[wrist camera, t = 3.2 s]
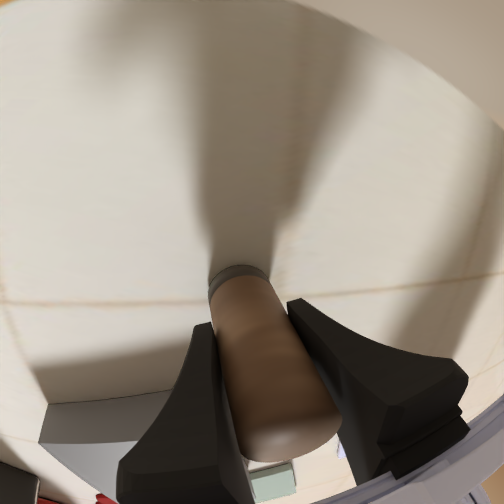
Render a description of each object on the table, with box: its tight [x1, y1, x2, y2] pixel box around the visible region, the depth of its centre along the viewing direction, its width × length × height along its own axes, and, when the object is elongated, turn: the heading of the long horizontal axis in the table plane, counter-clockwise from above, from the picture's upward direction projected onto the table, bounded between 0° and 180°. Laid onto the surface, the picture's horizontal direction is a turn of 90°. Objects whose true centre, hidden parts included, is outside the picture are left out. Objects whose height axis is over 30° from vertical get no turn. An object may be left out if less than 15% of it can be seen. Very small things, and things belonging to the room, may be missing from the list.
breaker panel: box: [38, 390, 256, 504], centre depth 18 cm, size 12×14×4 cm
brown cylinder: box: [208, 265, 342, 462], centre depth 11 cm, size 3×3×8 cm
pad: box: [250, 463, 296, 503], centre depth 25 cm, size 10×9×1 cm
